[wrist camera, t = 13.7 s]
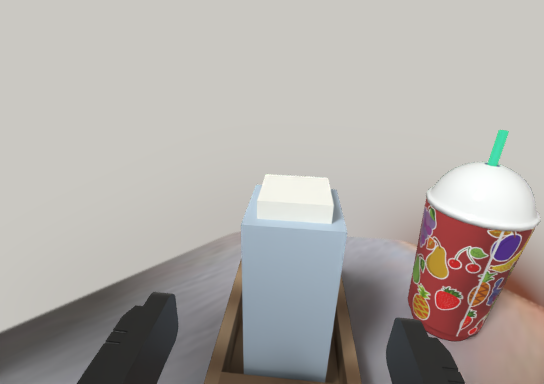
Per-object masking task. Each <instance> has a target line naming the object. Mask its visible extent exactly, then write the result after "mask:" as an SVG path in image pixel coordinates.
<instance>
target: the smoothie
mask: <svg viewBox="0 0 544 384" xmlns="http://www.w3.org/2000/svg"><path fill="white" fill-rule="evenodd" d="M507 135H508V131H505V130H499V131H498V134H497V137H496V141H495V144H494V146H493V149H492V152H491V155H490V158H489V161H488V162H473V163H467V164H464V165H461V166H459V167H456V168H454V169H452V170H450V171H449V172H447V173H446V174H445V175H443V176H442V177H441V178H440V180H439V181H438V182H437V183H436V184H435V186H434V187H431V188H429V190H428V191H427V193H426V198H427V199H426V203H425V208H424V213H423V219H422V224H421V229H420V235H419V241H418V246H417V251H416V257H415V262H414V268H413V273H412V279H411V284H410V289H409V295H408V302H409V306H410V308H411V312H412V316H413V317H414V319H416V320H420V321H421V322H422V324H423V326H424V328H425V330H426V331H427V332H429V333H430V334H432V335H434V336H437V337H439V338H441V339H445V340H450V341H461V340H464V339H467V338H468V337H469V336H471V335H474V334H477V332H478V331H479V330H480V329H481V327H482V325H483V323H484V321H485V320H486V318H487V316H488V314H489V312H490V310H491V309H492V307H493V305H494V303H495V301H496V299H497V298H498V296H499V294H500V292H501V290H502V288H503V286H504V285H505V283H506V281H507V279H508V277H509V275H510V273H511V272H512V270H513V268H514V266H515V264H516V262H517V261H518V259H519V257H520V255H521V253H522V252H523V250H524V248H525V246H526V244H527V242H528V241H529V239H530V237H531V235H532V233H533V231H534V229H535V227H536V226H537V225H538V224H539V223H540V221H541V220H540V215H539V213H538V212H537V211H536V206H535V199H534V195H533V192H532V190H531V188H530V186H529V185H528V183H527V182H526V180H524V179H523V178H522V177H521V176H520V175H519V174H517V173H516V172H515V171H513V170H512V169H510V168H508V167H506V166H504V165H501V164H498V161H499V159H500V155H501V152H502V149H503V147H504V144H505V141H506V138H507Z"/></svg>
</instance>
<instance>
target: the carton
mask: <svg viewBox="0 0 544 384" xmlns="http://www.w3.org/2000/svg"><path fill="white" fill-rule="evenodd" d="M346 238H347V230H346V225H345V221H344V217H343V213H342V209H341V205H340V201H339V197H338V193H337V190H333V189H330V185H329V180H328V178H323V177H306V176H288V175H272V174H271V175H270V174H266V175H265V178H264V181H263V184H262V185H256V187H255V189H254V192H253V194H252V197H251V200H250V202H249V205H248V208H247V210H246V213H245V216H244V218H243V221H242V223H241V248H242V304H243V359H244V374H246V375H256V376H265V377H275V378H285V379H294V380H304V381H314V382H323V383H325V379H326V372H327V365H328V359H329V352H330V345H331V338H332V332H333V325H334V318H335V311H336V305H337V298H338V291H339V285H340V278H341V271H342V264H343V258H344V251H345V244H346Z"/></svg>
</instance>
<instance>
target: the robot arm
mask: <svg viewBox="0 0 544 384" xmlns="http://www.w3.org/2000/svg"><path fill="white" fill-rule="evenodd" d="M177 332H178V316H177V308H176V299H175V295H174V294H168V293H158V292H153V293H152V294H151V295H150V296H149V298H148V299H147V301H146V302H145V304H144V306H135V307H133V308H132V309H131V310H130V311H128V312H127V313H126V314H125V315H123V316H122V318H121V319H120V321H119V322H118V324H117V325H116V327H115V328H114V329H113V332H111V334H110V335H109V337H108V338H107V340H106V343H105V344H103V346H102V347H101V349H100V350H99V352H98V353H97V355H96V356H95V357H94V359H93V360H92V362H91V363H90V365H89V366H88V368H87V369H86V371H85V372H84V374H83V375H82V377H81V378H80V380H79V381H78V383H77V384H157V381H158V379H159V377H160V374H161V372H162V370H163V368H164V365H165V363H166V361H167V358H168V356H169V354H170V352H171V349H172V347H173V345H174V342H175V340H176V337H177ZM386 360H387V366H388V369H389V373H390V377H391V380H392V384H465V382H464V380H463V378H462V376H461V374H460V372H458V368H457V366H456V364H455V362H454V360H453V358H452V356H451V353H450V352H449V351H448V350H447V349H446V348H445V346H444V345H443V344H442V343H441V342H440V341H439V340H438V339H437V338H432V337H428V335H427V332H426V330H425V328H424V326H423V324H422V322H421V321H420V320H416V319H406V318H396V319H395V321H394V324H393V328H392V331H391V334H390V338H389V341H388V344H387V349H386Z"/></svg>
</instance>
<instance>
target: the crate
mask: <svg viewBox="0 0 544 384" xmlns="http://www.w3.org/2000/svg"><path fill="white" fill-rule="evenodd" d="M204 384H362V383H361V377H360V372H359V367H358V361H357V356H356V350H355V345H354V340H353V334H352V329H351V324H350V318H349V313H348V308H347V302H346V297H345V291H344V286H343V281H342V275H341V278H340V285H339V291H338V298H337V305H336V311H335V318H334V325H333V332H332V338H331V345H330V352H329V359H328V365H327V372H326V379H325V383H323V382H314V381H304V380H294V379H285V378H275V377H265V376H256V375H246V374H244V359H243V304H242V258H241V261H240V264H239V268H238V271H237V274H236V278H235V281H234V284H233V288H232V291H231V294H230V298H229V301H228V304H227V308H226V311H225V314H224V318H223V321H222V324H221V328H220V331H219V334H218V337H217V341H216V344H215V347H214V351H213V354H212V357H211V361H210V364H209V367H208V371H207V374H206V377H205V381H204Z"/></svg>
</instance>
